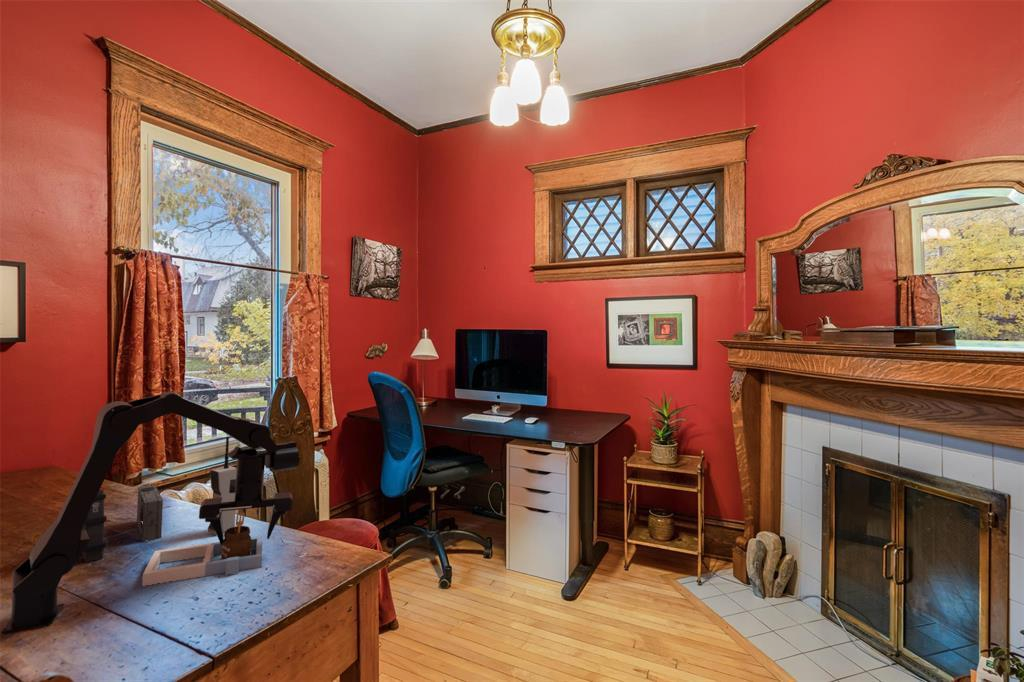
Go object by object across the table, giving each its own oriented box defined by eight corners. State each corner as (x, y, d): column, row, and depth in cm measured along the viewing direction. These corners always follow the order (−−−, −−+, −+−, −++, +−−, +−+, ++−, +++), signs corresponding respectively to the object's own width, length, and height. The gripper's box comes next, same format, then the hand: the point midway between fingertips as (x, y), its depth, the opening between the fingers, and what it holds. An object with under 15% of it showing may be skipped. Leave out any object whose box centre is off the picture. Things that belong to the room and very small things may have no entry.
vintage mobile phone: (207, 532, 121) (211, 438, 121) (226, 526, 125) (230, 435, 125) (215, 536, 119) (219, 440, 119) (234, 529, 124) (239, 436, 124)
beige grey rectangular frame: (261, 569, 104) (261, 555, 104) (140, 589, 94) (141, 574, 94) (262, 543, 116) (262, 531, 116) (156, 559, 106) (156, 545, 106)
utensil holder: (248, 551, 112) (250, 502, 112) (252, 562, 107) (255, 510, 107) (219, 557, 108) (222, 506, 108) (222, 569, 103) (225, 515, 103)
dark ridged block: (85, 561, 100) (84, 492, 105) (77, 567, 108) (76, 503, 113) (108, 556, 103) (105, 488, 108) (98, 562, 111) (97, 499, 115)
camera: (135, 521, 126) (137, 485, 126) (153, 518, 129) (155, 482, 129) (142, 542, 114) (143, 502, 114) (161, 538, 117) (163, 499, 117)
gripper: (292, 463, 120) (288, 523, 120) (207, 468, 111) (202, 533, 111) (294, 475, 110) (289, 541, 110) (201, 481, 101) (196, 552, 101)
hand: (245, 541), depth 108 cm, fingers open, 9 cm apart
